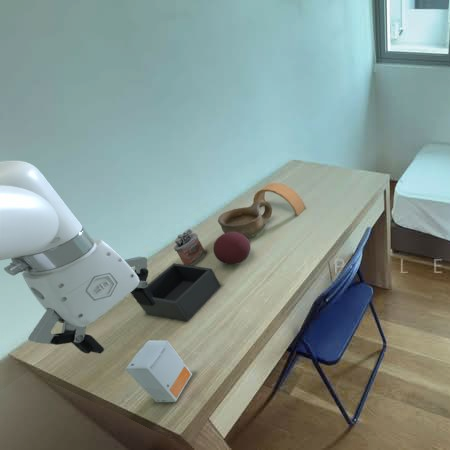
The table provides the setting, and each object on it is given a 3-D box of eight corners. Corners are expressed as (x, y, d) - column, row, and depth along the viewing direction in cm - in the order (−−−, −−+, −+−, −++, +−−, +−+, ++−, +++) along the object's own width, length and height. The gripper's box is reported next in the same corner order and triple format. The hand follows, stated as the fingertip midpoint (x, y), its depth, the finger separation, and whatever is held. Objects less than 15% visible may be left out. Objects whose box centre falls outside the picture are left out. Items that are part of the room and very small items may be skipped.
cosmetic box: (176, 402, 61) (146, 369, 54) (155, 402, 61) (122, 369, 55) (194, 373, 66) (168, 339, 59) (174, 373, 66) (146, 339, 60)
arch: (297, 216, 117) (291, 193, 111) (254, 208, 123) (246, 186, 117) (305, 208, 121) (300, 185, 116) (264, 201, 127) (257, 179, 121)
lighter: (191, 268, 94) (177, 243, 89) (181, 267, 95) (166, 242, 89) (208, 251, 101) (196, 227, 95) (199, 251, 101) (186, 226, 96)
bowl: (250, 210, 119) (248, 188, 113) (281, 224, 117) (280, 203, 111) (212, 235, 106) (207, 213, 99) (246, 252, 104) (243, 230, 97)
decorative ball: (261, 253, 99) (251, 227, 94) (240, 274, 92) (228, 248, 86) (236, 248, 102) (225, 223, 96) (213, 268, 94) (199, 242, 88)
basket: (187, 322, 78) (174, 303, 74) (146, 314, 80) (132, 296, 76) (221, 286, 88) (211, 268, 84) (184, 280, 90) (173, 263, 86)
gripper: (-1, 299, 36) (90, 377, 46) (133, 217, 49) (181, 291, 59) (-46, 290, 37) (51, 368, 47) (97, 213, 51) (149, 286, 61)
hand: (123, 325), depth 53 cm, fingers open, 9 cm apart
